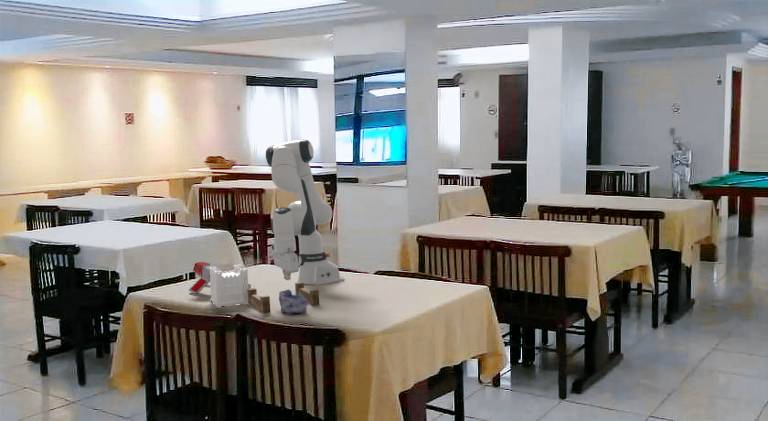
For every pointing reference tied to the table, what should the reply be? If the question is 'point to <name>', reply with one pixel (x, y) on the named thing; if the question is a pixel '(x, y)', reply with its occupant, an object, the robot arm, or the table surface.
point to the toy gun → (203, 276)
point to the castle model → (229, 286)
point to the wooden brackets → (264, 301)
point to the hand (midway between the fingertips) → (287, 279)
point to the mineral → (292, 302)
